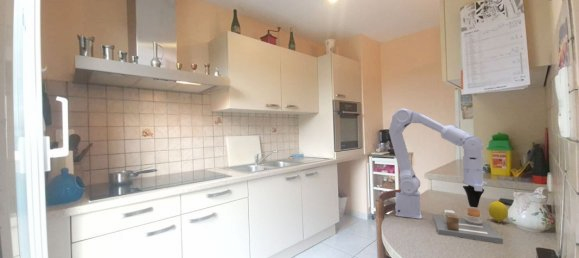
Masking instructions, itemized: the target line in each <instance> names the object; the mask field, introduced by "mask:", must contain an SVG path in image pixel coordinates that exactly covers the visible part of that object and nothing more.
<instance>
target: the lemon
mask: <svg viewBox="0 0 579 258" xmlns="http://www.w3.org/2000/svg"><path fill="white" fill-rule="evenodd" d="M488 213H489V216H490V217H491V218H492V219H493V220H495V221H496V222H497V223H499V222H501V221H504V220H506V219H507V218H508V214H509V213H508V208H507V206H506V205H505V203H503V202H501V201H499V200H495V201H493V202H491V203H490V204H489V206H488Z"/></svg>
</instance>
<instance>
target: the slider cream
mask: <svg viewBox="0 0 579 258" xmlns="http://www.w3.org/2000/svg"><path fill="white" fill-rule="evenodd" d="M446 214H449V215H456V212H455V211H454V210H452V209H444V210H443V216H444V221H445V223H447V218H446Z"/></svg>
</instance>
